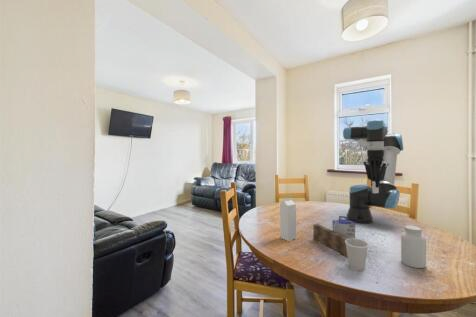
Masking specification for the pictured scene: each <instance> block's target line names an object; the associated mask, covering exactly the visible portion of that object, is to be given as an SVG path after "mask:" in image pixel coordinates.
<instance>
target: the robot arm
mask: <svg viewBox="0 0 476 317" xmlns="http://www.w3.org/2000/svg"><path fill="white" fill-rule="evenodd" d="M384 123H385V122H384V120H383V119H374V120H368V121H367V122H366V125H364V126H360V125H359V126H349V127H347V126H346V127H344V128H343V131H342V135H343V139H344V140H346V141H347V140H349V141H350V140H352V141H353V142H354V141H355V142H356V143H358V144H359V146H361V147H362V148H363V149H366V150H367V151H366V156H367V159H366V161H363V162H362V164H363V166H364V167H365V174H366V177H367V179H368V180H370V184H371V186H370V184H354V185H351V186H350V187H349V208H348V211H347V213H346V217H347V220H348V221H353V222H354V223H359V224H371V223H373V222H374V218H373V215H372V213H371V209H370V208H371V207H376V208H383V209H392V210H394V209H396V208H397V206H398V205H399V201H400V190H399V189H398V188H397V186H395V182H396V181H395V179H396V169H397V160H398V155H399V154H401V151H404V142H403V136H402V134H401V133H388V130H389V129H388V127H386V126H385V125H384Z"/></svg>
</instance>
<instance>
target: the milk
mask: <svg viewBox="0 0 476 317" xmlns="http://www.w3.org/2000/svg"><path fill="white" fill-rule="evenodd" d="M279 216H280V218H279V219H280V220H279V222H280V225H279V227H280V231H279V232H280V239H282V238H283V239H282V240H284V239H285V241H286V240H287V241H286V242H290V240H291V241H293V239H294V240H297V205H296V203H295V202H294V201H293V197H286V198H283V201H282V202H280V203H279Z"/></svg>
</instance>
